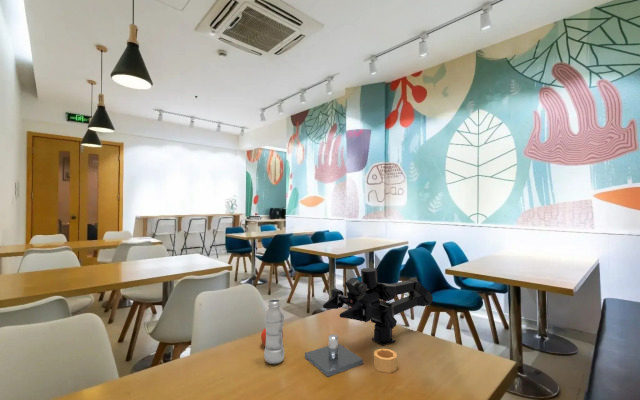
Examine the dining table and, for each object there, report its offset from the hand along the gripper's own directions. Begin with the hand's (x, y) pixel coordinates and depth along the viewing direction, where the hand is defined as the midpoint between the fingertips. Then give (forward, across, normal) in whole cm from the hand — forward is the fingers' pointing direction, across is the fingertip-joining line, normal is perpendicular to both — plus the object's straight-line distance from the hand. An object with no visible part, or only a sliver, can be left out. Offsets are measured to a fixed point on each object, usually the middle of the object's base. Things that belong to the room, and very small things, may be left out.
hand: (331, 310), depth 100 cm
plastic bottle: (+18, -9, +15) cm, 25 cm away
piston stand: (+1, +2, +16) cm, 16 cm away
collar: (-10, +14, +17) cm, 24 cm away
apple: (+13, -20, +16) cm, 29 cm away
